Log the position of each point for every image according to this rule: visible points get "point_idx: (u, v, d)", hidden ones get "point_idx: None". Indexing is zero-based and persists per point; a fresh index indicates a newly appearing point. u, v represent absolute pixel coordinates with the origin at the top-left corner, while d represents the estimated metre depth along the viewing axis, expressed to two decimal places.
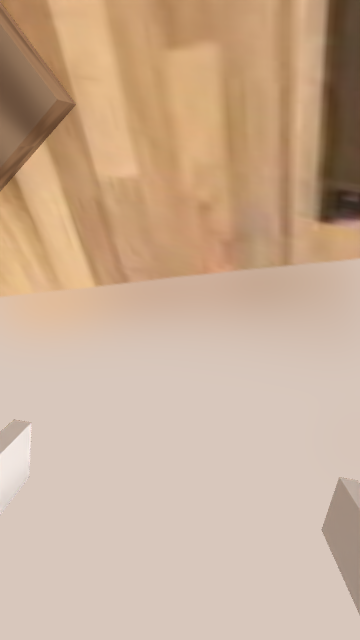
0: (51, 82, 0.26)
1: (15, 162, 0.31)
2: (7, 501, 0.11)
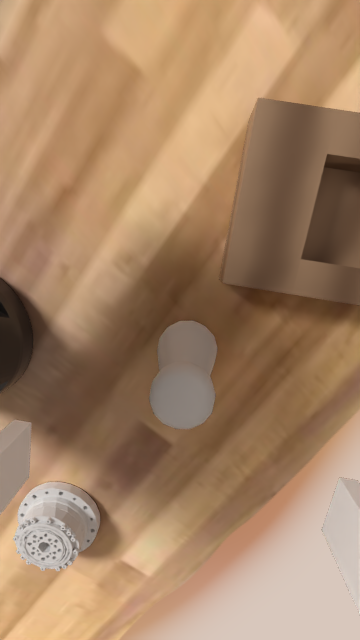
0: (249, 132, 0.24)
1: None
2: (7, 501, 0.11)
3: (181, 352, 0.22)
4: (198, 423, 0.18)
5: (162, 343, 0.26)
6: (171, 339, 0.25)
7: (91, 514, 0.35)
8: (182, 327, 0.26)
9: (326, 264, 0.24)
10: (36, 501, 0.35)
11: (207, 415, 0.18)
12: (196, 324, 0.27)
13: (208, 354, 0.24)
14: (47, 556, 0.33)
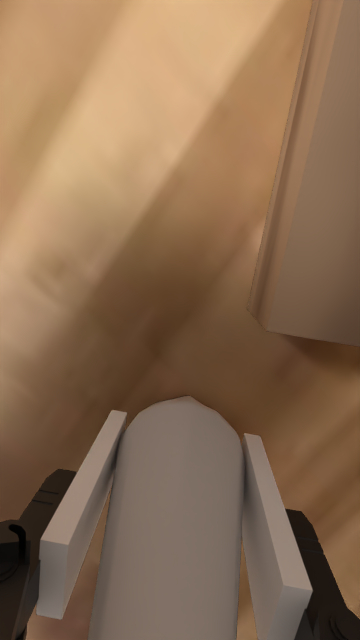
0: None
1: None
2: None
3: (152, 570, 0.07)
4: None
5: (119, 470, 0.11)
6: (137, 475, 0.10)
7: None
8: (168, 429, 0.11)
9: None
10: None
11: None
12: (199, 416, 0.12)
13: (233, 535, 0.09)
14: None
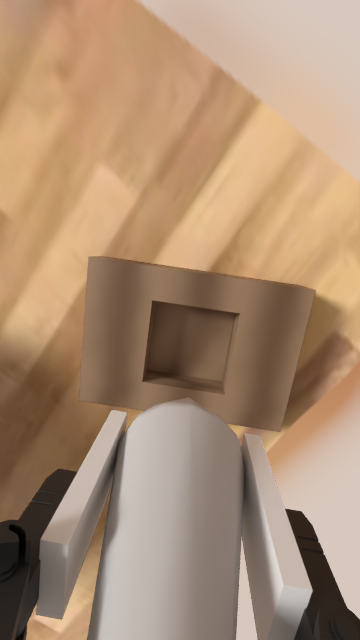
0: None
1: (184, 269, 0.27)
2: None
3: (152, 574, 0.07)
4: None
5: (118, 473, 0.11)
6: (136, 479, 0.10)
7: None
8: (168, 431, 0.11)
9: (164, 386, 0.28)
10: None
11: None
12: (199, 418, 0.12)
13: (233, 539, 0.09)
14: None
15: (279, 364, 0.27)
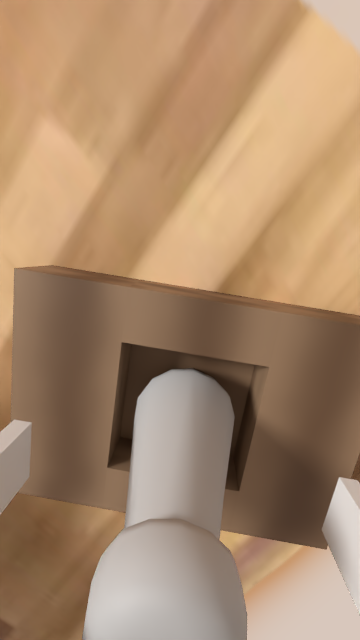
0: None
1: (176, 289, 0.17)
2: (7, 501, 0.11)
3: (168, 463, 0.11)
4: None
5: (139, 416, 0.15)
6: (154, 416, 0.14)
7: None
8: (176, 387, 0.15)
9: None
10: None
11: None
12: (199, 379, 0.16)
13: (222, 452, 0.12)
14: None
15: (330, 448, 0.16)
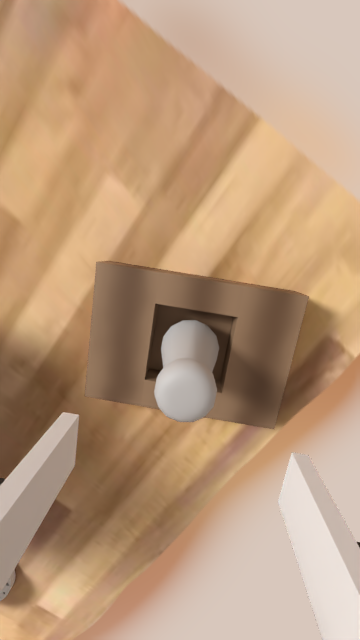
0: None
1: (185, 274, 0.29)
2: (60, 486, 0.12)
3: (184, 350, 0.23)
4: (200, 416, 0.19)
5: (166, 341, 0.27)
6: (175, 338, 0.26)
7: None
8: (185, 326, 0.27)
9: None
10: None
11: (209, 409, 0.19)
12: (199, 323, 0.28)
13: (210, 352, 0.25)
14: None
15: (273, 365, 0.28)
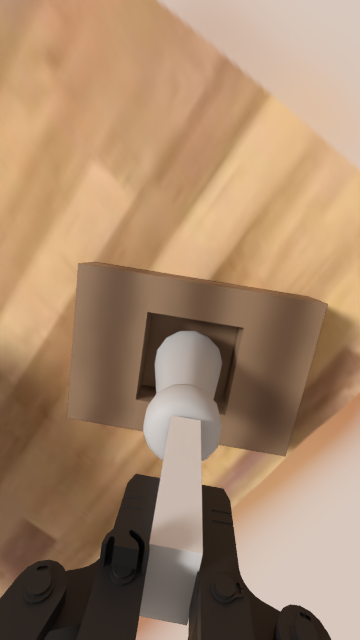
0: None
1: (183, 278, 0.25)
2: None
3: (181, 370, 0.19)
4: (201, 459, 0.15)
5: (160, 357, 0.23)
6: (170, 353, 0.22)
7: None
8: (183, 339, 0.23)
9: None
10: None
11: (212, 450, 0.15)
12: (198, 335, 0.24)
13: (212, 371, 0.21)
14: None
15: (285, 383, 0.24)
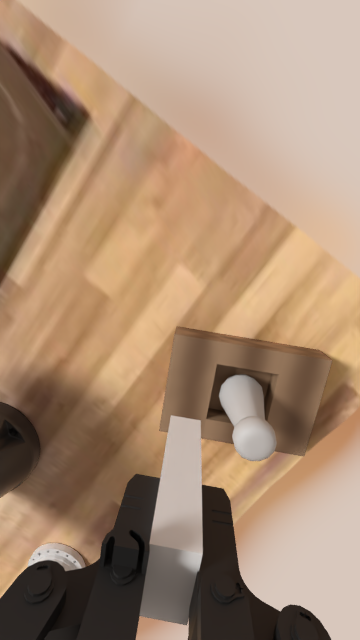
0: None
1: (238, 340, 0.38)
2: None
3: (247, 406, 0.32)
4: (266, 457, 0.29)
5: (226, 393, 0.36)
6: (235, 392, 0.35)
7: (79, 566, 0.50)
8: (241, 382, 0.37)
9: (221, 422, 0.39)
10: (40, 557, 0.50)
11: None
12: (249, 378, 0.37)
13: (262, 405, 0.34)
14: None
15: (304, 409, 0.38)
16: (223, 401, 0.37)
